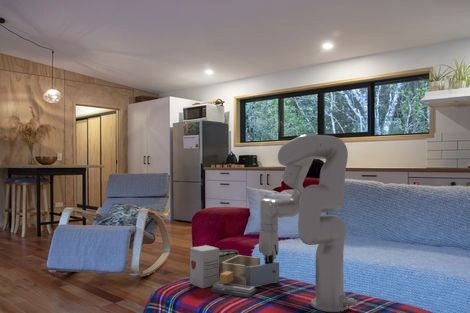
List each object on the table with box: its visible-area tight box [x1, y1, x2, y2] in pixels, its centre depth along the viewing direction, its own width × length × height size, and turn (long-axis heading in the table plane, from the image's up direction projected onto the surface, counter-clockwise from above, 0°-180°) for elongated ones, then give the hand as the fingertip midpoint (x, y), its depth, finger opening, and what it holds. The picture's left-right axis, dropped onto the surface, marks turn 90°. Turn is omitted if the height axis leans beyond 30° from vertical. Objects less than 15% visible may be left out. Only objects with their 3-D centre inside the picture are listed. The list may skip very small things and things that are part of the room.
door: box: [246, 261, 280, 288], centre depth 160 cm, size 2×17×8 cm, turn 123°
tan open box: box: [220, 254, 261, 285], centre depth 166 cm, size 11×16×9 cm
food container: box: [219, 249, 240, 277], centre depth 179 cm, size 12×6×10 cm, turn 130°
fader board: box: [210, 280, 258, 299], centre depth 152 cm, size 16×8×2 cm, turn 63°
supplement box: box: [189, 244, 220, 289], centre depth 162 cm, size 9×9×15 cm
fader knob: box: [219, 271, 233, 285], centre depth 154 cm, size 3×5×5 cm, turn 153°
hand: (268, 270), depth 167 cm, fingers closed
